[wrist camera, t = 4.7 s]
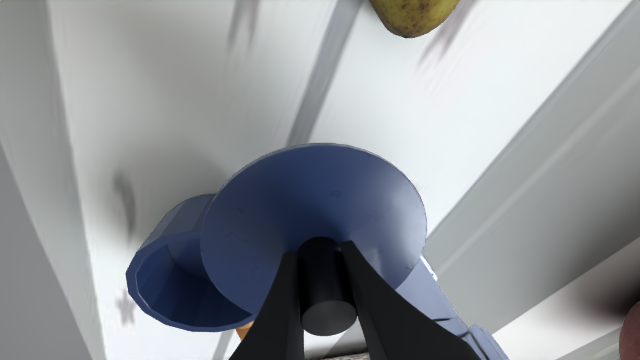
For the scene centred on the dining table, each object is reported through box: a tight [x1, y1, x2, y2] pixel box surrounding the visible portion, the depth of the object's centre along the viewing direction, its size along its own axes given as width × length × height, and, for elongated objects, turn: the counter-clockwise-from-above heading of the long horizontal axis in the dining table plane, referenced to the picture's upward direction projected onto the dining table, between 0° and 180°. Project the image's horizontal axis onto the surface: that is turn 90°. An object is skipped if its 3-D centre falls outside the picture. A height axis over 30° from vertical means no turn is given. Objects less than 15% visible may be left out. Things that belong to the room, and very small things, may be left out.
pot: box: [126, 194, 257, 332], centre depth 22 cm, size 11×11×6 cm
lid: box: [200, 143, 427, 336], centre depth 12 cm, size 12×12×5 cm
